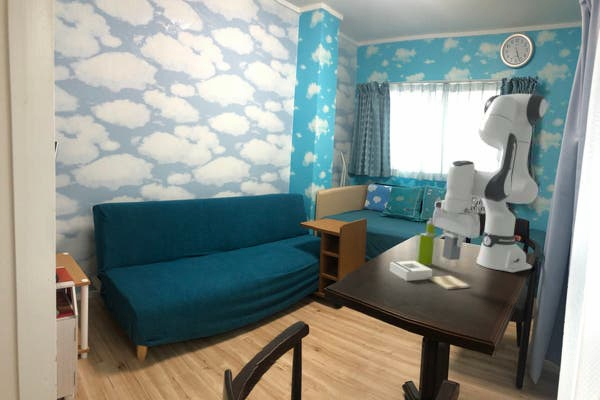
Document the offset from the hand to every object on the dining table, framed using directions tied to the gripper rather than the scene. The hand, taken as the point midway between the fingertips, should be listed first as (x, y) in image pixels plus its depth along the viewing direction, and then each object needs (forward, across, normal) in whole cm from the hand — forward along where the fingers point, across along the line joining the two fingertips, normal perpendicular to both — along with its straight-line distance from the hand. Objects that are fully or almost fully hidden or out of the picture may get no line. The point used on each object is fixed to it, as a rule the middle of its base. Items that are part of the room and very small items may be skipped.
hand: (452, 244), depth 137 cm
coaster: (+15, 0, 0) cm, 15 cm away
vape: (+15, +22, -6) cm, 27 cm away
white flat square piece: (+15, +11, +9) cm, 20 cm away
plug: (+5, 0, 0) cm, 5 cm away
